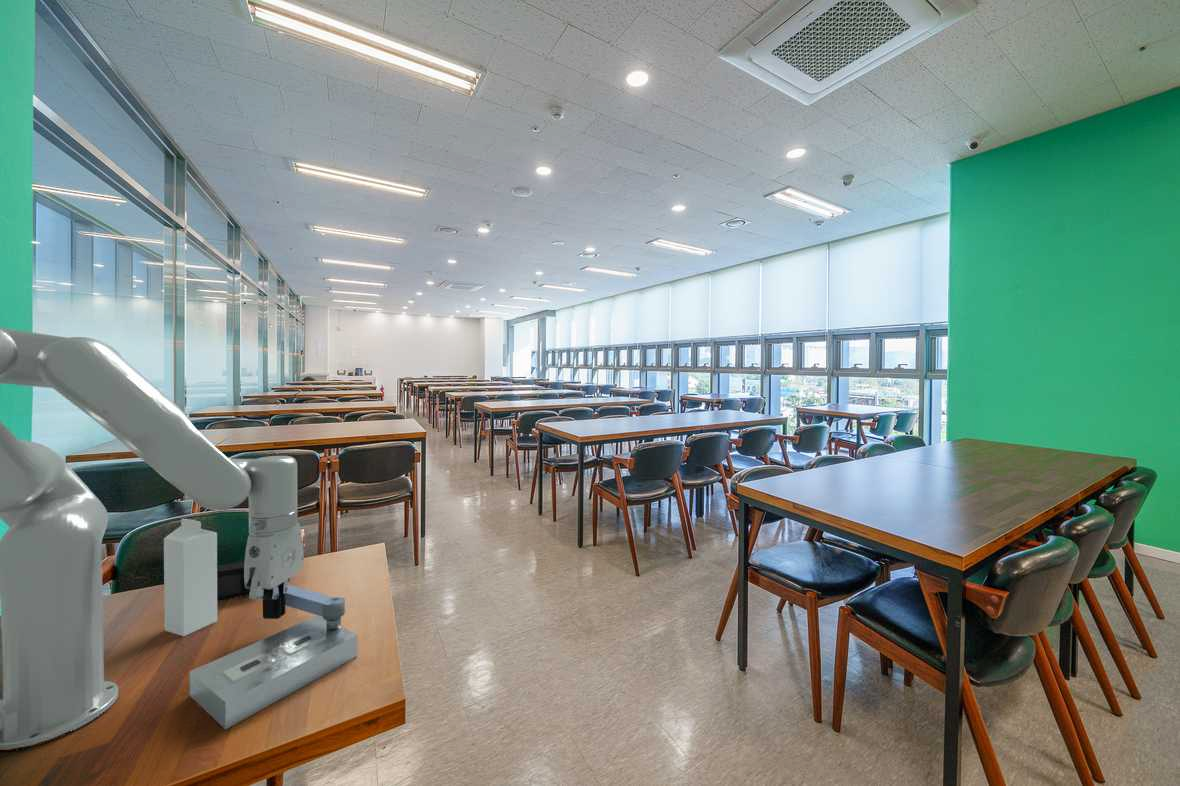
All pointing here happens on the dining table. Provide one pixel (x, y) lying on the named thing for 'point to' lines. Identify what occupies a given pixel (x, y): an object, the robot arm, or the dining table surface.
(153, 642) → the dining table surface
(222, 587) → the digital camera
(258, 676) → the plate
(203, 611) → the milk
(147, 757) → the dining table surface
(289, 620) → the dining table surface
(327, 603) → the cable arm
